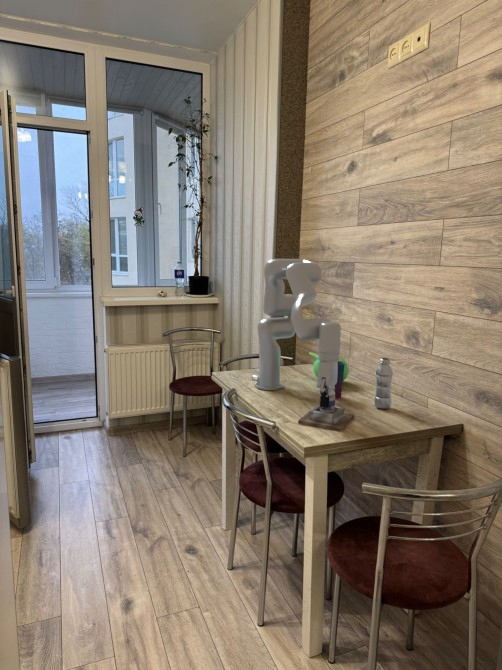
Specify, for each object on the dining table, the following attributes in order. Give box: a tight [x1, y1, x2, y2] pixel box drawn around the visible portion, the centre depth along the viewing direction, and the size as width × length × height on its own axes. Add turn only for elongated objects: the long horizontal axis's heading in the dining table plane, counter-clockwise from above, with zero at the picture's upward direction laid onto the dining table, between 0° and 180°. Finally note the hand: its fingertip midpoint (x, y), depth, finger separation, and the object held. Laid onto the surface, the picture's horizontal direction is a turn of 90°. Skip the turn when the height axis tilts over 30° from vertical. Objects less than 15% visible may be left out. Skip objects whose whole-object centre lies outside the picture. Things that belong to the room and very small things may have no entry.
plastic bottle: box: [373, 357, 394, 410], centre depth 186 cm, size 6×7×20 cm
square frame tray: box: [297, 403, 355, 432], centre depth 173 cm, size 16×16×4 cm
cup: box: [335, 361, 345, 400], centre depth 200 cm, size 7×7×15 cm
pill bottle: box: [320, 386, 336, 413], centre depth 172 cm, size 5×5×10 cm
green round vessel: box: [308, 352, 350, 382], centre depth 221 cm, size 18×17×15 cm
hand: (327, 404), depth 172 cm, fingers closed on pill bottle, 5 cm apart
